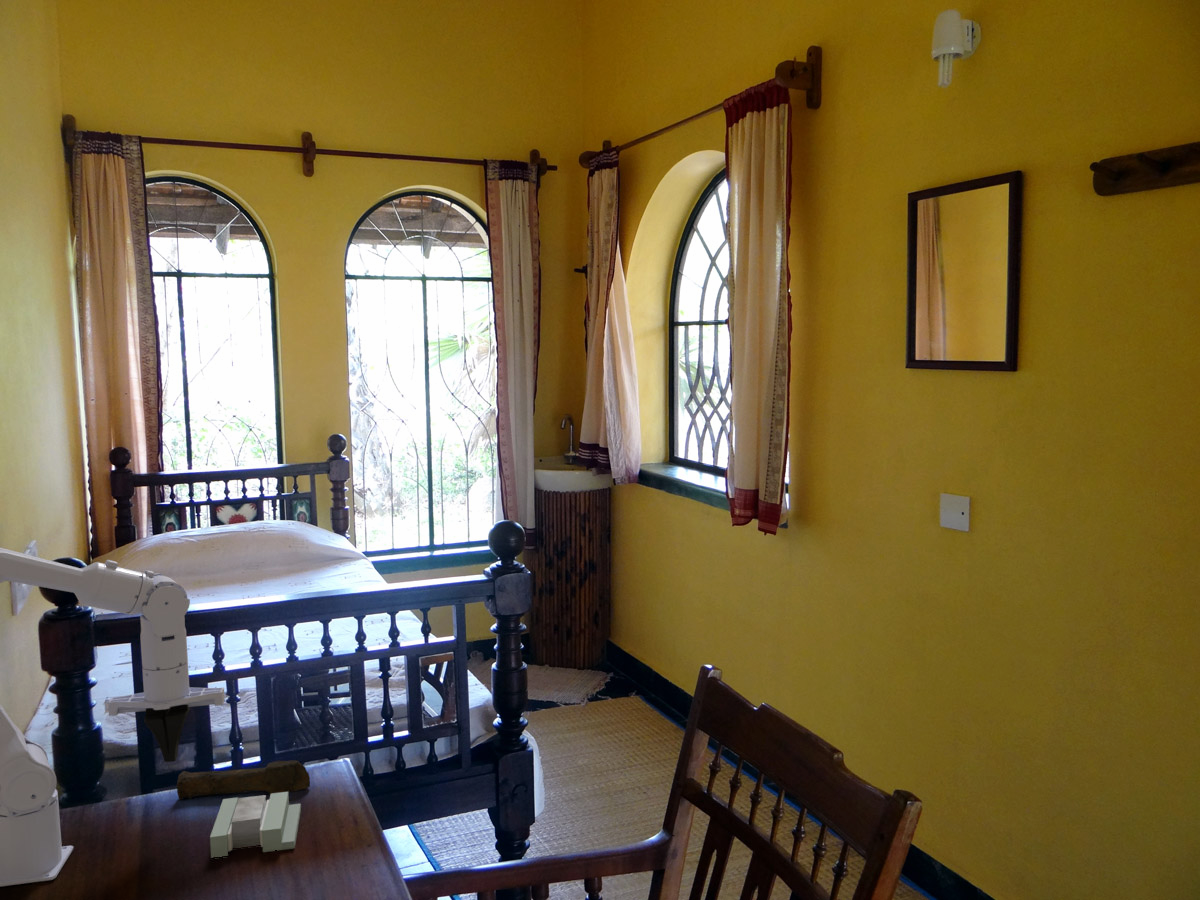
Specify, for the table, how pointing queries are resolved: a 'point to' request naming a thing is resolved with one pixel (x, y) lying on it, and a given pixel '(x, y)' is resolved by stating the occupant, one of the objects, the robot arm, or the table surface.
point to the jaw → (223, 829)
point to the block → (248, 821)
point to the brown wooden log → (245, 780)
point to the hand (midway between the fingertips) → (171, 758)
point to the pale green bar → (279, 823)
